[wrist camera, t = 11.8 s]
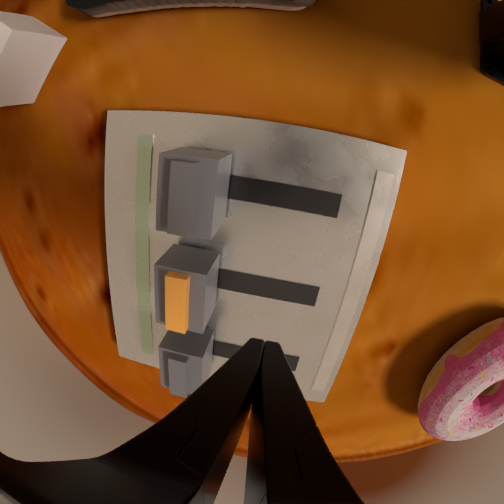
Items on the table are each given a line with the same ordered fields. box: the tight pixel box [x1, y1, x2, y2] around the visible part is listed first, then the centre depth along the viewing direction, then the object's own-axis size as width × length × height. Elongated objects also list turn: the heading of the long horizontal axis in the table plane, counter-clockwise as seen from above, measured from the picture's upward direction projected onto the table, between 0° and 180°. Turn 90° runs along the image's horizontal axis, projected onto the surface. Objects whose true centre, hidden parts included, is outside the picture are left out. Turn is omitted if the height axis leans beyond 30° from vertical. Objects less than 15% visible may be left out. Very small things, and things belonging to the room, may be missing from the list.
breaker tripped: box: [154, 244, 220, 334], centre depth 19 cm, size 3×4×4 cm
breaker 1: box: [156, 147, 233, 240], centre depth 16 cm, size 3×4×4 cm
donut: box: [417, 317, 504, 441], centre depth 20 cm, size 14×13×5 cm
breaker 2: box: [158, 328, 214, 398], centre depth 21 cm, size 3×4×4 cm
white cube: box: [0, 11, 67, 107], centre depth 15 cm, size 6×6×6 cm
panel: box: [105, 110, 407, 402], centre depth 21 cm, size 18×20×2 cm
